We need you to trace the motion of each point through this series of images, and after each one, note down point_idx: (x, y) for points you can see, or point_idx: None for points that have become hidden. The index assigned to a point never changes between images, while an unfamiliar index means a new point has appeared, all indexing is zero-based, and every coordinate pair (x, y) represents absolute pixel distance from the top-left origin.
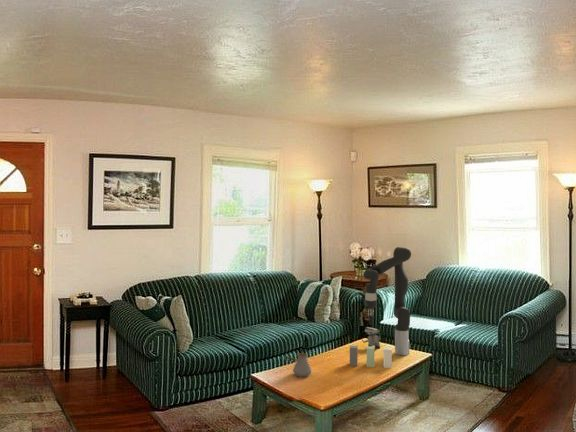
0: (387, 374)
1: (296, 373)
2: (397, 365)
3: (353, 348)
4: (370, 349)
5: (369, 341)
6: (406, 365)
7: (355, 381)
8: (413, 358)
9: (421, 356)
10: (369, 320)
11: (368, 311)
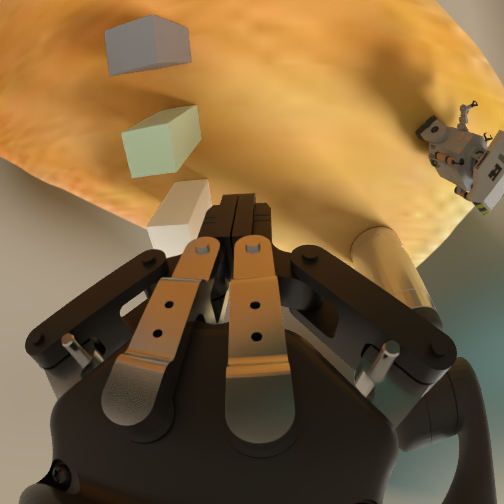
0: (109, 201)
1: None
2: None
3: (108, 52)
4: (128, 153)
5: (452, 135)
6: None
7: (21, 117)
8: None
9: None
10: (215, 231)
11: (121, 370)
